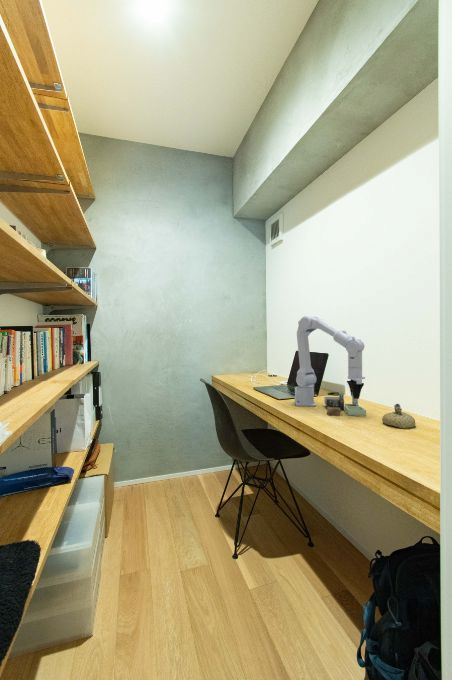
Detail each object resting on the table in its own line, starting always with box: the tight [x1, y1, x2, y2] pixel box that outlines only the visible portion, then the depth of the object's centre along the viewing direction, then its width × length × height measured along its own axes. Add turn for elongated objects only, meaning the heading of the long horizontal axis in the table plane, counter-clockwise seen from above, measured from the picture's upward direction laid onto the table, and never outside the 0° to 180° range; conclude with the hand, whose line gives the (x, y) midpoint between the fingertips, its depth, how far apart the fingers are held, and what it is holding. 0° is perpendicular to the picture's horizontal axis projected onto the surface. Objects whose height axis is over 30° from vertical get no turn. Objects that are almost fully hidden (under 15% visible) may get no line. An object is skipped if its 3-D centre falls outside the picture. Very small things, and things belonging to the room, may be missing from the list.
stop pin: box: [351, 388, 359, 405], centre depth 137 cm, size 3×3×7 cm
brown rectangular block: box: [326, 406, 342, 417], centre depth 136 cm, size 5×4×3 cm
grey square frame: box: [344, 403, 360, 407], centre depth 145 cm, size 6×6×2 cm
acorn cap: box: [381, 403, 416, 429], centre depth 120 cm, size 10×11×10 cm
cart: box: [323, 391, 345, 411], centre depth 147 cm, size 8×10×7 cm
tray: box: [344, 405, 367, 417], centre depth 137 cm, size 7×7×2 cm
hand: (355, 397), depth 136 cm, fingers closed on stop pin, 3 cm apart
